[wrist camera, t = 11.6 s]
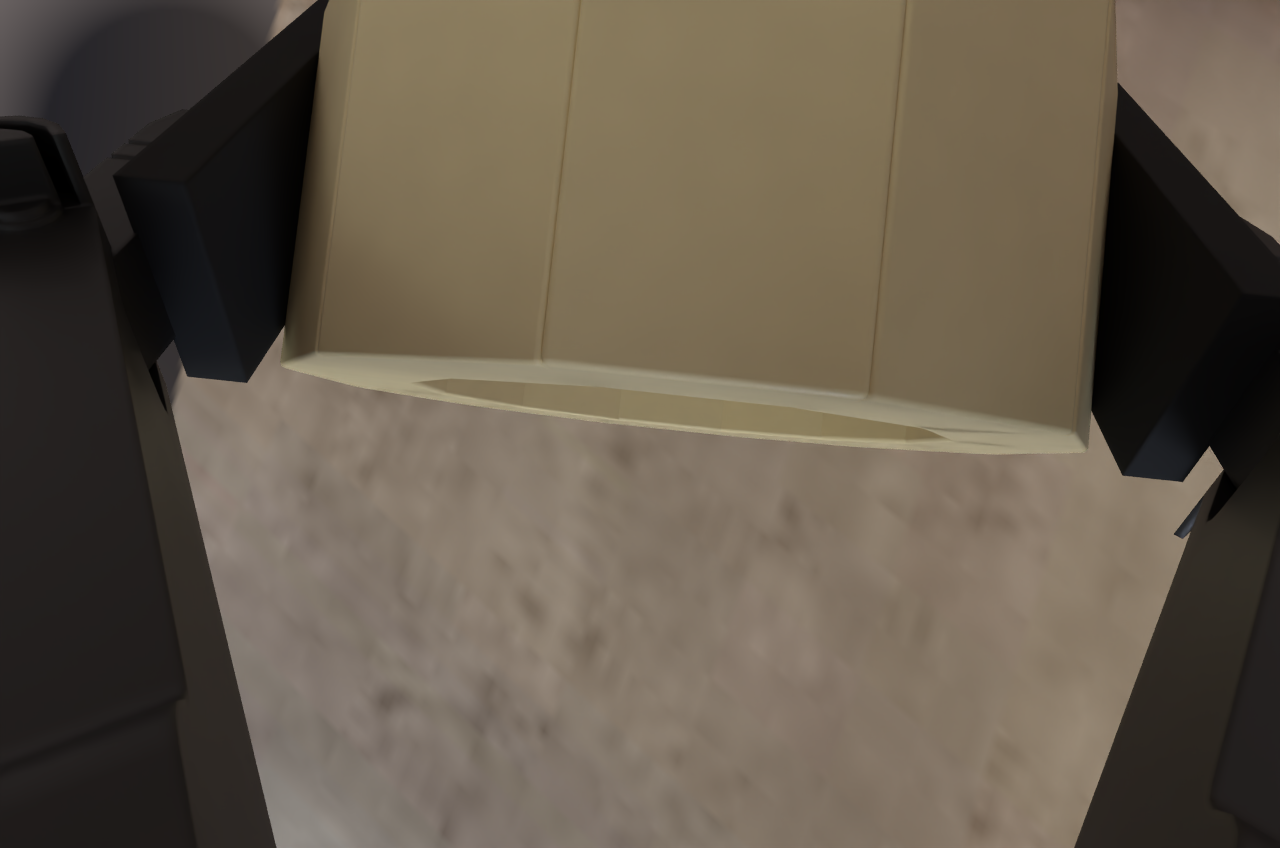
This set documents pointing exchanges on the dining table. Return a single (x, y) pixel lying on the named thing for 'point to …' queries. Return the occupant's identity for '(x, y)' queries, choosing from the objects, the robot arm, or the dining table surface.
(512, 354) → the tape roll
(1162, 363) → the robot arm
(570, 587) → the dining table surface
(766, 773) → the dining table surface
